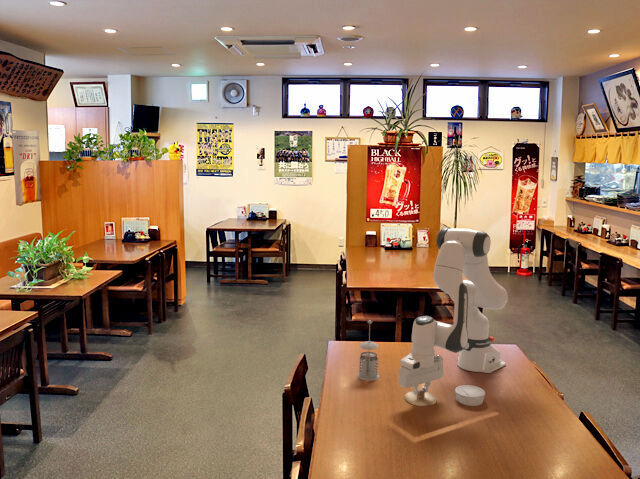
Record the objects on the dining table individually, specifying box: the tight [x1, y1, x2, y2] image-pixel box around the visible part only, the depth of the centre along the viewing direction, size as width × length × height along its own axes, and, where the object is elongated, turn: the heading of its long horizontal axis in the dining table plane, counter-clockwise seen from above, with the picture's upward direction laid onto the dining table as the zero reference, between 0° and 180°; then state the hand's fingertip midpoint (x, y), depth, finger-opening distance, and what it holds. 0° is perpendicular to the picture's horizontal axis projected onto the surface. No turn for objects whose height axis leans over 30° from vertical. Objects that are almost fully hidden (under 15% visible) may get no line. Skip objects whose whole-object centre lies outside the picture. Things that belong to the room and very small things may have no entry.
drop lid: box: [404, 388, 437, 407], centre depth 217 cm, size 12×12×4 cm
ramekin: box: [454, 384, 486, 407], centre depth 217 cm, size 11×11×5 cm
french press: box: [356, 319, 380, 382], centre depth 239 cm, size 10×12×25 cm
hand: (420, 393), depth 217 cm, fingers closed on drop lid, 3 cm apart
